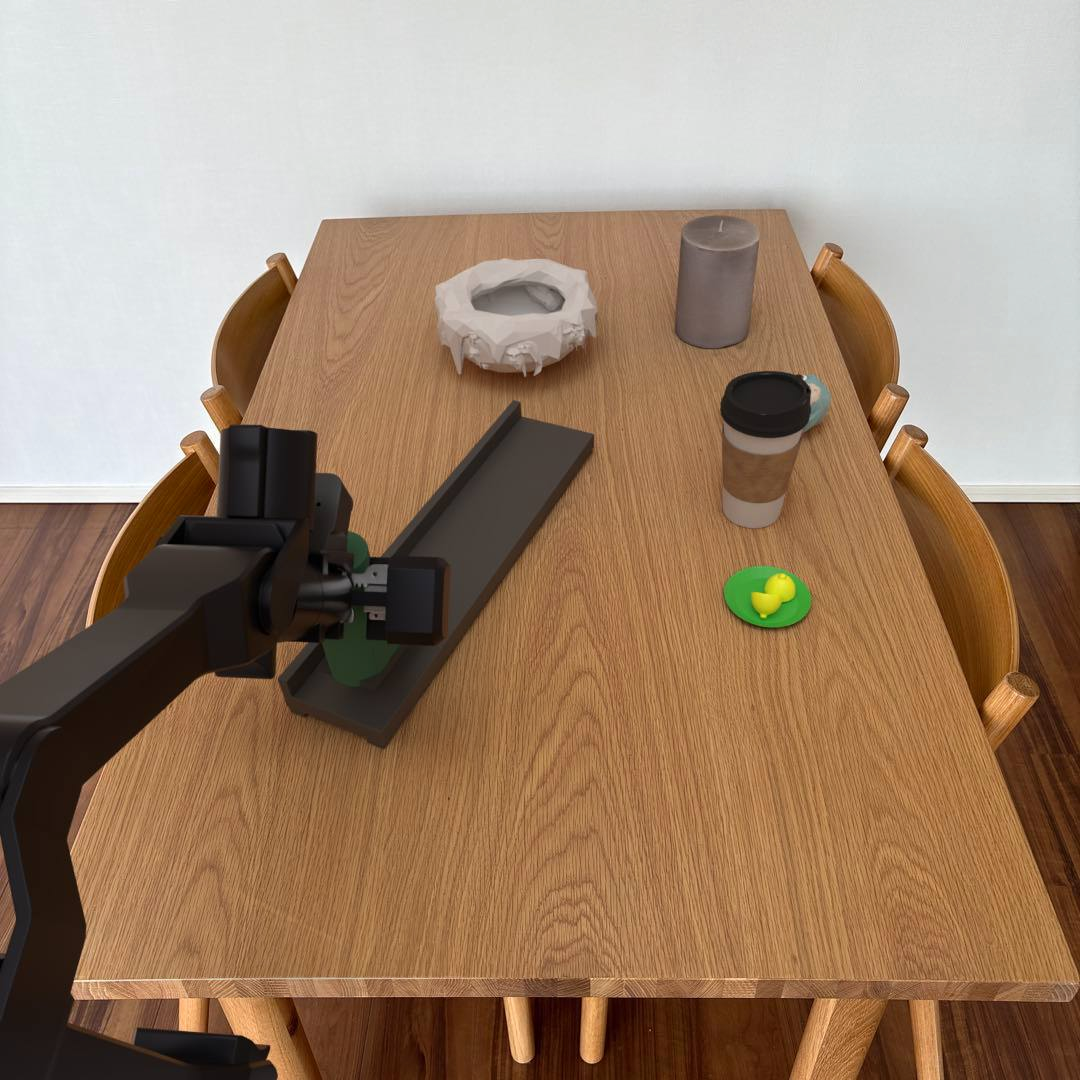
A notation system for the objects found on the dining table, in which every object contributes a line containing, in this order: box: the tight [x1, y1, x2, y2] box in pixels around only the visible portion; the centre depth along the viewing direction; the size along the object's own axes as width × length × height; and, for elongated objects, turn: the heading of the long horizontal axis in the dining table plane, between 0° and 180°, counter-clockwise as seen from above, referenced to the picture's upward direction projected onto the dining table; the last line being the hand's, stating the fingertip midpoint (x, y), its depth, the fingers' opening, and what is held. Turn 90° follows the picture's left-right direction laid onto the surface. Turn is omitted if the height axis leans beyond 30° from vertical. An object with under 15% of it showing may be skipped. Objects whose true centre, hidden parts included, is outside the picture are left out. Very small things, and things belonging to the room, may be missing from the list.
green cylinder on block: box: [318, 530, 409, 691], centre depth 77 cm, size 11×5×12 cm, turn 155°
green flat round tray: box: [723, 565, 812, 628], centre depth 89 cm, size 8×8×3 cm
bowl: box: [433, 257, 599, 378], centre depth 120 cm, size 21×20×10 cm
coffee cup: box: [719, 370, 811, 529], centre depth 95 cm, size 8×8×15 cm
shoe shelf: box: [277, 399, 595, 750], centre depth 94 cm, size 44×10×4 cm, turn 155°
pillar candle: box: [674, 214, 761, 350], centre depth 121 cm, size 10×10×15 cm
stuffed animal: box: [785, 371, 832, 434], centre depth 109 cm, size 11×7×12 cm
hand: (351, 595), depth 76 cm, fingers closed on green cylinder on block, 5 cm apart
